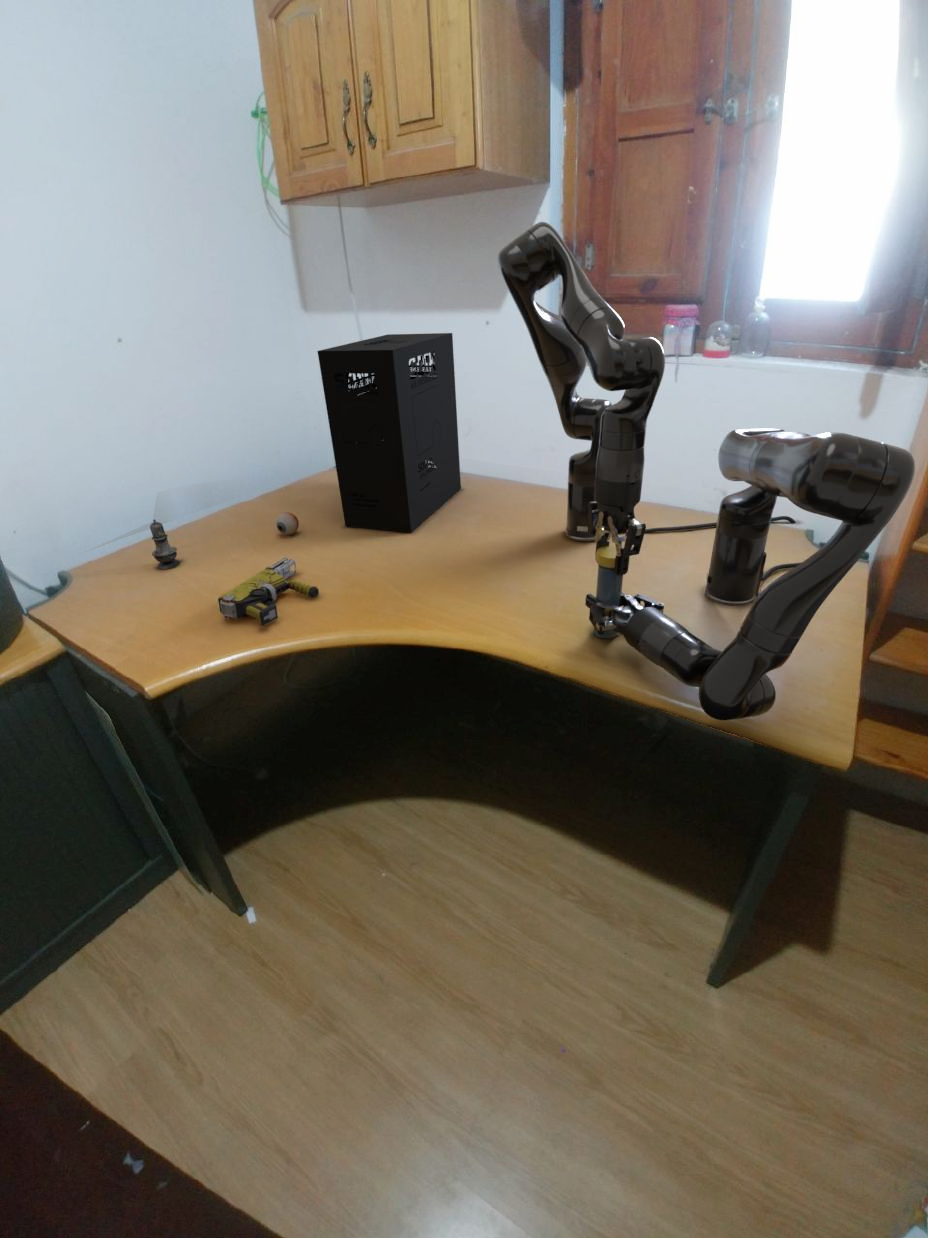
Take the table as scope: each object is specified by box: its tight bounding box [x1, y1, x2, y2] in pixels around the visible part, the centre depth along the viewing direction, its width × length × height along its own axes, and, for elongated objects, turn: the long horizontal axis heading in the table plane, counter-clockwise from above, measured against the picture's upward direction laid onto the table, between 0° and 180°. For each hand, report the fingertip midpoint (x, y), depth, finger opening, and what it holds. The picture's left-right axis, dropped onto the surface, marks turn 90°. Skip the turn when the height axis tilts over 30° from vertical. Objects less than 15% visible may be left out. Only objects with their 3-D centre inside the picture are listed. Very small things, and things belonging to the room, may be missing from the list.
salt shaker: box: [149, 519, 181, 570], centre depth 148 cm, size 6×6×12 cm
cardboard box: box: [317, 332, 462, 534], centre depth 168 cm, size 38×20×45 cm, turn 159°
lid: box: [595, 545, 617, 568], centre depth 105 cm, size 5×5×2 cm
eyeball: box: [275, 511, 300, 536], centre depth 163 cm, size 6×6×6 cm
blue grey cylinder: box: [593, 563, 624, 639], centre depth 109 cm, size 4×4×16 cm
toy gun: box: [217, 557, 320, 627], centre depth 130 cm, size 5×24×15 cm
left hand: (610, 567), depth 106 cm, fingers closed on lid, 5 cm apart
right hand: (599, 595), depth 112 cm, fingers closed on blue grey cylinder, 4 cm apart
